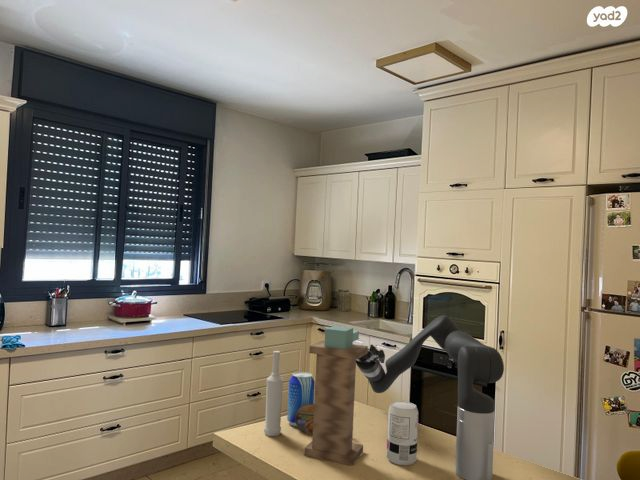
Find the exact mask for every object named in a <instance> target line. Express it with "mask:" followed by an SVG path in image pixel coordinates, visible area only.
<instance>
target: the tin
mask: <svg viewBox="0 0 640 480" xmlns="http://www.w3.org/2000/svg"><path fill="white" fill-rule="evenodd" d="M313 416H314V404H305V405H303V406H301V407H300V408H299V409H298V411H297V412H296V415H295V422H296V425H297V426H298V427H297V428H298V429H299V430H301V432H304V433H307V432H308V433H309V434H310V433H311V434H313Z"/></svg>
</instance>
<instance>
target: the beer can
mask: <svg viewBox="0 0 640 480" xmlns="http://www.w3.org/2000/svg"><path fill="white" fill-rule="evenodd" d="M314 397H315V379H314V377H313V374H312V373H310V372H306V371H296V372H293V373H292V375H291V377H290V378H289V381H288V397H287V400H288V401H287V415H286V419H287V422H288V423H289V425H290V426H292V427H295V426H296V428H298V426H297V425H296V422H295V415H296V412H297V411H298V409H299V408H300V407H301V406H303V405H305V404H314Z"/></svg>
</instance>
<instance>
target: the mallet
mask: <svg viewBox="0 0 640 480" xmlns="http://www.w3.org/2000/svg"><path fill="white" fill-rule="evenodd" d="M359 332H360V331H359V330H354V327H346V326H338V325H337V326H336V325H332V326H330V327H327V328H325V329H324V341H325V344H324V347H329V348H337V349H347V348H349V347H351V346H353V344H354V343H353V342H355V341H357V340H359V338H360V336H359V335H360V333H359Z"/></svg>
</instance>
